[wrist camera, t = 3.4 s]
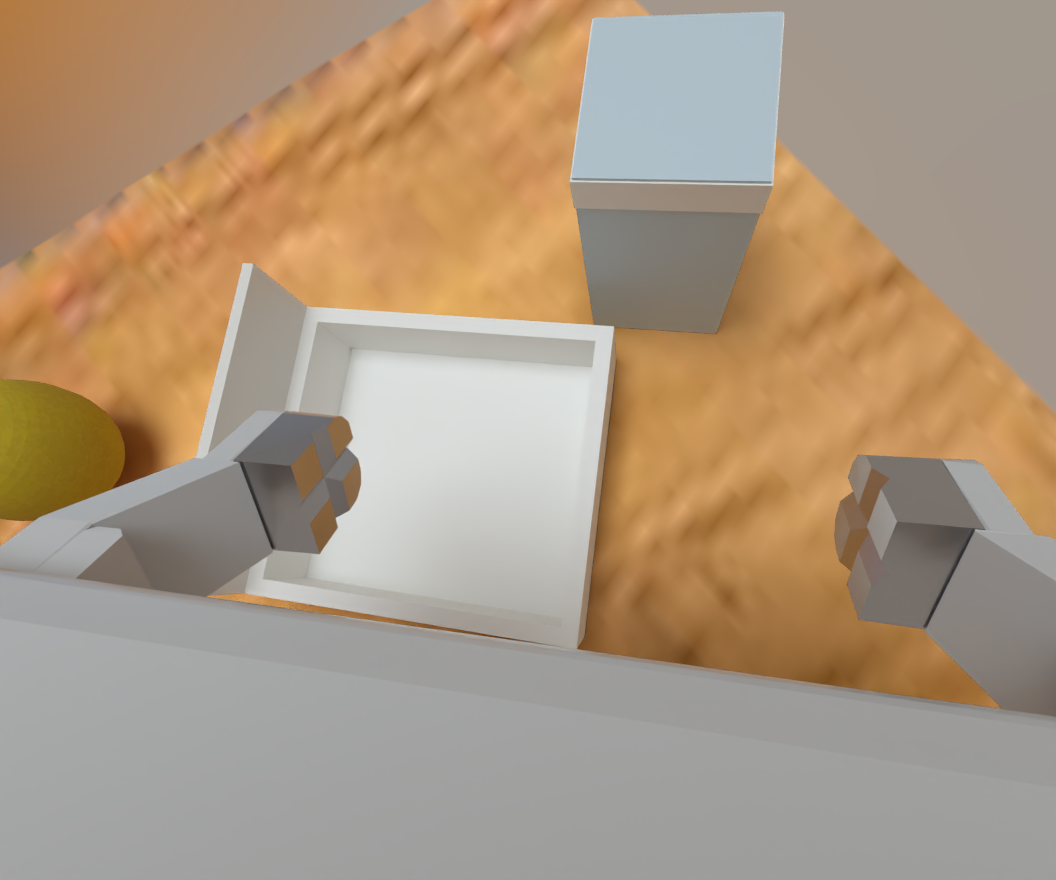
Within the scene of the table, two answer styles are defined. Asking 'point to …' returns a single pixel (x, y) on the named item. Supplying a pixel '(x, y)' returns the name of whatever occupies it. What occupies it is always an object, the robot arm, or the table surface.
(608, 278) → the carton
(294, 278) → the table surface
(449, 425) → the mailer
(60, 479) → the lemon
